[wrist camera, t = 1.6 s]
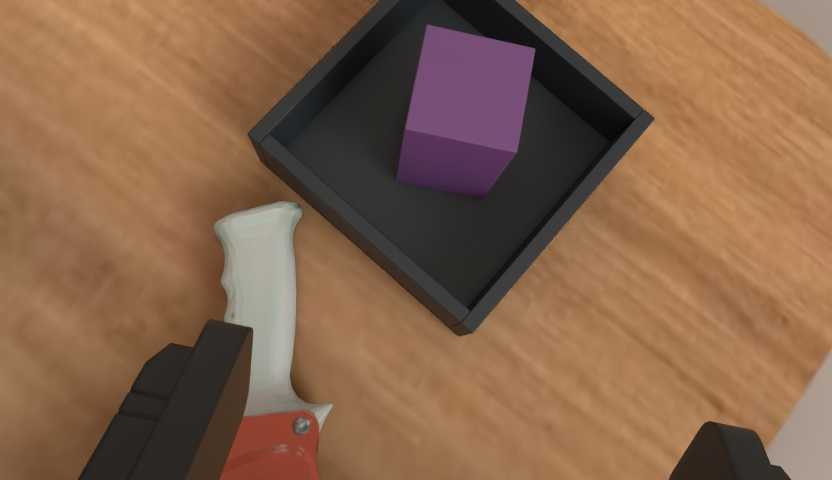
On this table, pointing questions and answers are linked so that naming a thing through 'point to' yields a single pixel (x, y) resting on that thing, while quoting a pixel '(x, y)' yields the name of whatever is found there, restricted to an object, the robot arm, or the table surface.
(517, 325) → the table surface
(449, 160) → the plum block
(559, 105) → the tray
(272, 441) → the tape dispenser
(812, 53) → the table surface
